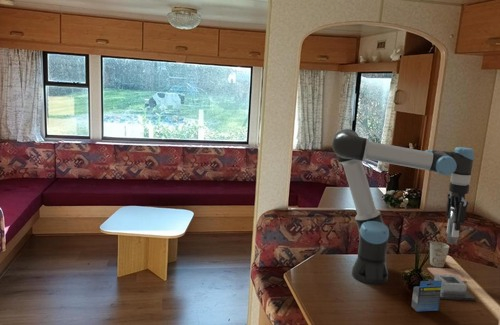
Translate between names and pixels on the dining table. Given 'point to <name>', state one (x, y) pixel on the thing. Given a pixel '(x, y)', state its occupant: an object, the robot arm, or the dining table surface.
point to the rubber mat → (445, 272)
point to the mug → (438, 253)
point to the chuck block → (452, 288)
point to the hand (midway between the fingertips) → (452, 234)
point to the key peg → (451, 227)
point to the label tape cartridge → (426, 296)
